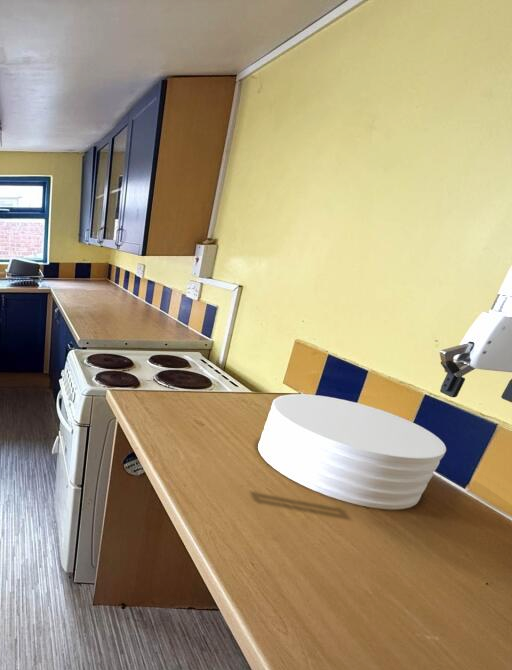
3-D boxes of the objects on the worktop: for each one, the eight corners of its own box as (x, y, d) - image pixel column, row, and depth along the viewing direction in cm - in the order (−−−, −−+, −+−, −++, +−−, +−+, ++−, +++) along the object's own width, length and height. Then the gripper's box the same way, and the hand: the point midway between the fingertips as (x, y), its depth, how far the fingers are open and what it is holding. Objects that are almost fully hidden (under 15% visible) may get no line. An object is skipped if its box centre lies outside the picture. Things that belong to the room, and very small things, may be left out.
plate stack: (434, 481, 85) (460, 433, 81) (396, 530, 70) (426, 475, 66) (288, 426, 106) (302, 386, 102) (235, 454, 91) (249, 409, 87)
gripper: (565, 308, 71) (516, 396, 78) (448, 300, 75) (410, 385, 81) (613, 316, 65) (555, 412, 71) (482, 307, 68) (438, 399, 75)
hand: (478, 398), depth 76 cm, fingers open, 9 cm apart
